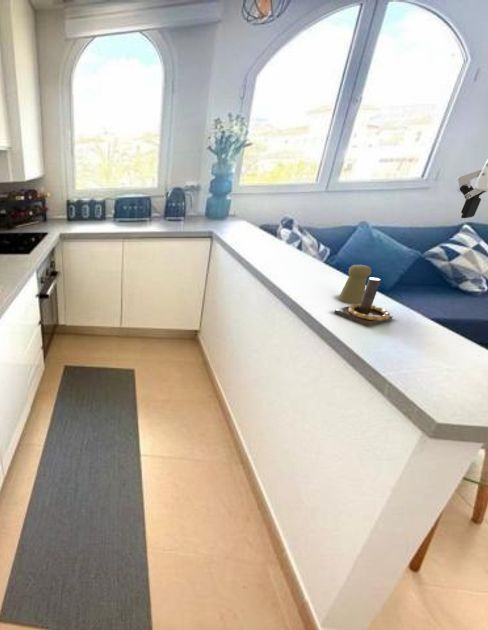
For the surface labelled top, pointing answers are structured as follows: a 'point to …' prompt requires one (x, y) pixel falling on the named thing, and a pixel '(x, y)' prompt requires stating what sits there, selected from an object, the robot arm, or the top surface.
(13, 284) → the top surface
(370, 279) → the rack
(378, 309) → the ring
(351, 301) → the cork
